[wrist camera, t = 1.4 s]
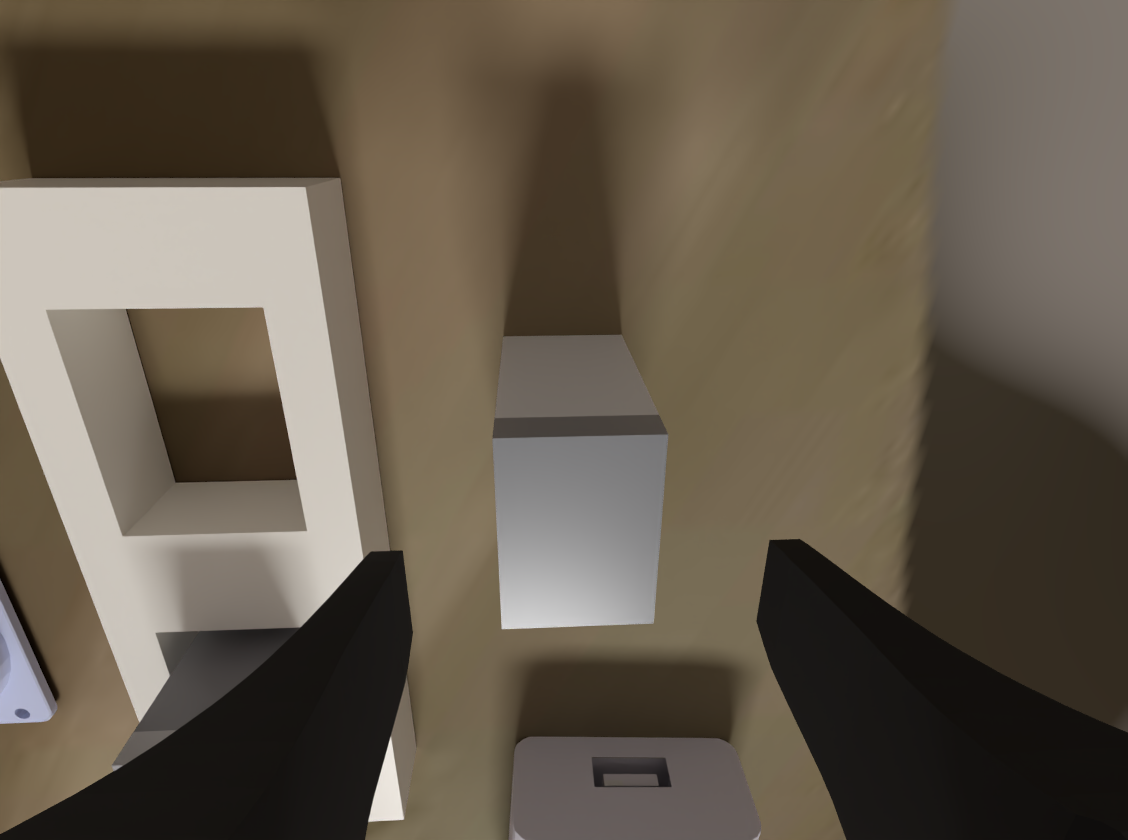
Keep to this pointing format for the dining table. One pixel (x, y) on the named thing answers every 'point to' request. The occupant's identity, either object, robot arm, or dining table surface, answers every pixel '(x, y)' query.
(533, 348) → the grey plug
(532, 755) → the charger
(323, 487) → the power strip
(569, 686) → the dining table surface
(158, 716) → the charcoal plug
